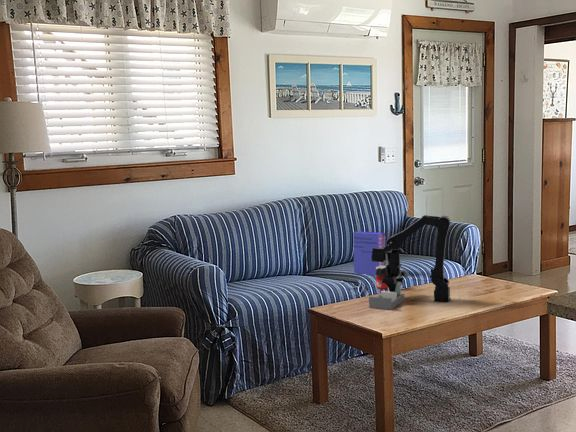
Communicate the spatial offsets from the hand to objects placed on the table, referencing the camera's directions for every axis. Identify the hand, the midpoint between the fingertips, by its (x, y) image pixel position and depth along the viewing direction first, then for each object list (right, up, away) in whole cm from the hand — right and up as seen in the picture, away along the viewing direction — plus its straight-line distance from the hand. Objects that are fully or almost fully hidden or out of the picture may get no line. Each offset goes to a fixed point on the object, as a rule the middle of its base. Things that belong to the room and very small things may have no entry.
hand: (394, 294), depth 311 cm
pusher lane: (-5, -3, -8) cm, 10 cm away
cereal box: (-5, +4, +56) cm, 57 cm away
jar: (0, -1, 0) cm, 1 cm away
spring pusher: (-4, -2, -7) cm, 8 cm away
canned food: (-2, 0, +22) cm, 22 cm away
